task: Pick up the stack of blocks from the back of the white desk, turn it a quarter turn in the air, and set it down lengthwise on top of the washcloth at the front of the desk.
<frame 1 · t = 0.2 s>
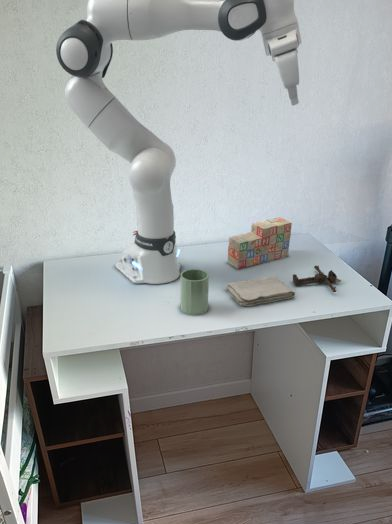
hand: (294, 101, 130), 51 cm above the table, tool tilted 20°, fingers open, 8 cm apart
brown toy monkey: (315, 283, 159), on the table
pencil cup: (194, 308, 145), on the table
washcloth: (258, 295, 152), on the table
stack of blocks: (258, 260, 173), on the table
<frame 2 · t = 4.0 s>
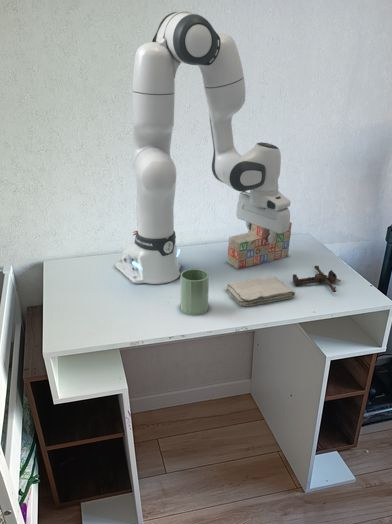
hand: (260, 238, 169), 8 cm above the table, tool pointing down, fingers closed on stack of blocks, 6 cm apart
stack of blocks: (258, 260, 173), on the table, touching gripper
everything else where it was.
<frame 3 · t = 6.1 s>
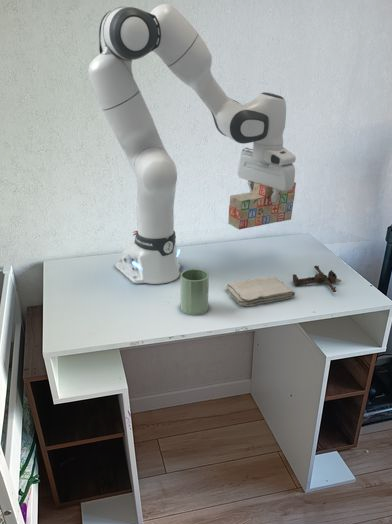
hand: (262, 198, 160), 21 cm above the table, tool pointing down, fingers closed on stack of blocks, 6 cm apart
stack of blocks: (260, 222, 165), point 13 cm above the table, touching gripper
everything else where it was.
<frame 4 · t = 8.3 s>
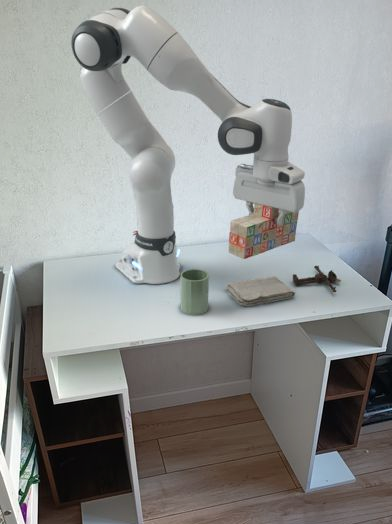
hand: (265, 220, 139), 23 cm above the table, tool pointing down, fingers closed on stack of blocks, 6 cm apart
stack of blocks: (262, 247, 143), point 15 cm above the table, touching gripper
everything else where it was.
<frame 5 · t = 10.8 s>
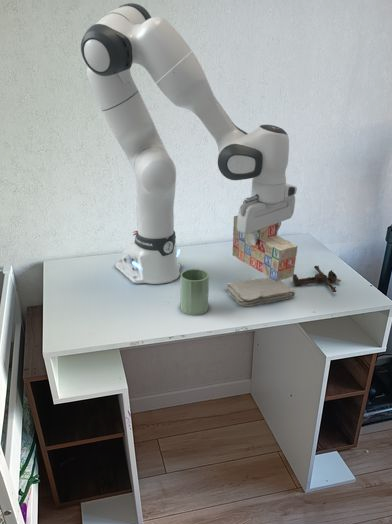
hand: (263, 240, 142), 17 cm above the table, tool pointing down, fingers closed on stack of blocks, 6 cm apart
stack of blocks: (261, 266, 147), point 9 cm above the table, touching gripper
everything else where it was.
when the fingers open (11 cm above the table, at t = 12.9 s): stack of blocks stays where it is, resting on washcloth.
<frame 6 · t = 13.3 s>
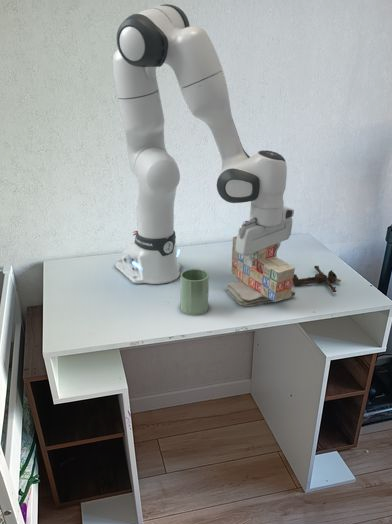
hand: (261, 261, 146), 11 cm above the table, tool pointing down, fingers open, 8 cm apart
washcloth: (259, 295, 152), on the table, touching stack of blocks
stack of blocks: (259, 286, 150), point 3 cm above the table, touching washcloth
everything else where it was.
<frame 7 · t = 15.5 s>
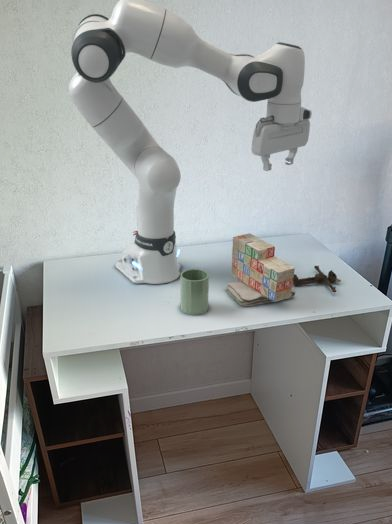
hand: (278, 167, 142), 34 cm above the table, tool pointing down, fingers open, 8 cm apart
nothing on the table moved.
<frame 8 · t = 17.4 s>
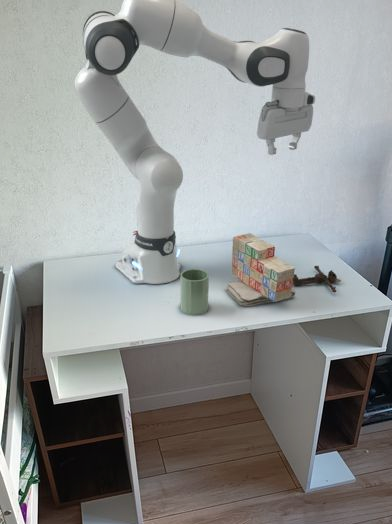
hand: (282, 151, 146), 37 cm above the table, tool pointing down, fingers open, 8 cm apart
nothing on the table moved.
at the end: stack of blocks inside the target area on the washcloth (0.0 cm from its centre), point 3.1 cm above the washcloth's base; stack of blocks tilted 0°; stack of blocks touching washcloth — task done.
